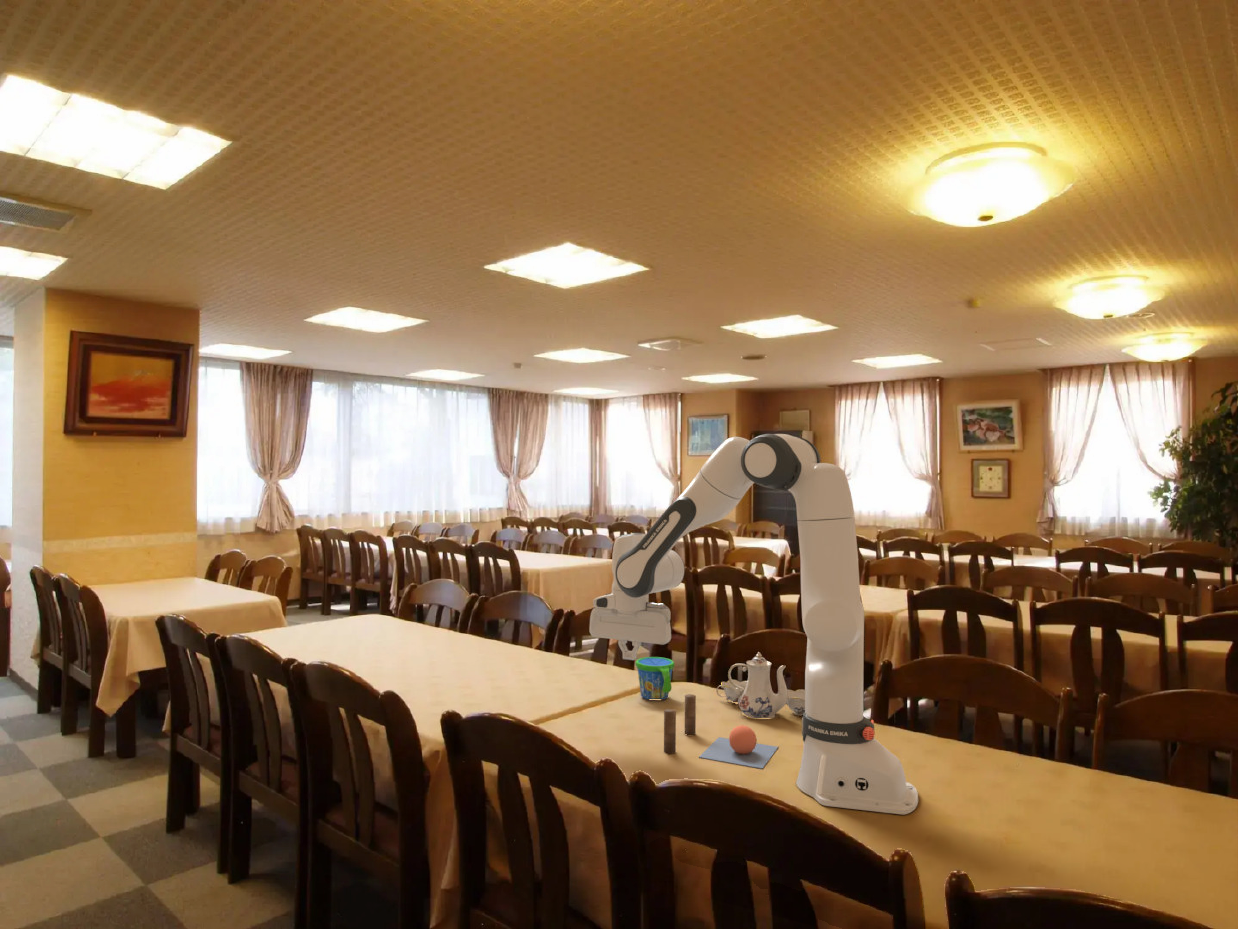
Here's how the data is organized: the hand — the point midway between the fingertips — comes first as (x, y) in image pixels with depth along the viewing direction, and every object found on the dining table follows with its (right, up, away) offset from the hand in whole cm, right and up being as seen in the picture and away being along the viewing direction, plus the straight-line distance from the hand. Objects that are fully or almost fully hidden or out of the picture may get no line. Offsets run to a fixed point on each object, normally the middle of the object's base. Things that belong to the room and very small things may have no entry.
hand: (629, 659), depth 175 cm
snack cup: (+7, -19, +29) cm, 35 cm away
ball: (+25, -15, -13) cm, 31 cm away
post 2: (+14, -18, 0) cm, 23 cm away
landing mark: (+24, -18, -12) cm, 32 cm away
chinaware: (+35, -19, +18) cm, 44 cm away
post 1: (+9, -17, -12) cm, 23 cm away
